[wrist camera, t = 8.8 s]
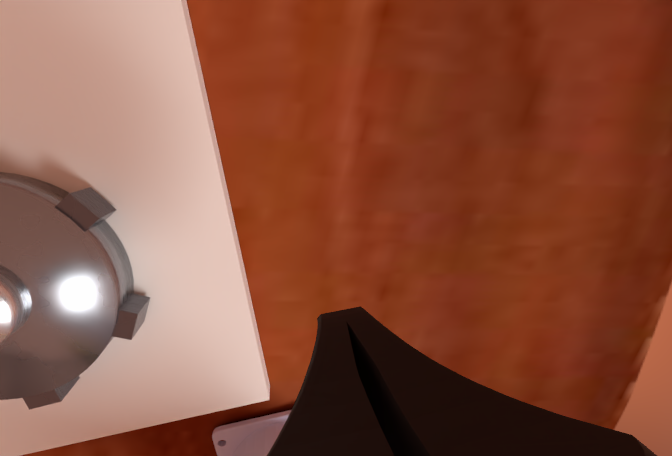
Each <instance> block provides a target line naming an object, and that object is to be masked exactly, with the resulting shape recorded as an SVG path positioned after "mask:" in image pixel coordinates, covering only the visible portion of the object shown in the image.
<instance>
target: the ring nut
mask: <svg viewBox="0 0 672 456" xmlns="http://www.w3.org/2000/svg"><path fill="white" fill-rule="evenodd" d="M115 211H116V209H115V208H114V207H113V206H112V205H111V204H109V203H108V202H107V201H106V200H105V199H104V198H103V197H101V196H100V195H99V194H98V193H97V192H96V191H94V190H93V189H92V188H91V187H89V188H86V189H82V190H79V191H76V192H72V193H69V192H67V191H65V190H63V189H61V188H59V187H57V186H54V185H52V184H50V183H47V182H44V181H41V180H38V179H35V178H32V177H28V176H23V175H19V174H13V173H5V172H0V400H8V399H18V398H23V400H24V401H25V403H26V405H27V407H28V408H29V410H30V409H34V408H38V407H42V406H46V405H50V404H54V403H58V402H61V401H62V400H63V399H64V397H65V396H66V395H67V394H68V392H69V391H70V390H71V389H72V387H73V386H74V385H75V384H76V382H77V381H78V380H79V379H80V377H79V375H80V374H81V373H83V372H84V371H85V370H87V369H88V368H89V367H90V366H91V365H92V364H93V363H94V362H95V361H96V359H97V358H98V357H99V356H100V354H101V353H102V352H103V351H104V349H105V348H106V347H107V345H108V344H109V343H110V342H111V340H112V339H113V338H114V337H118V338H123V339H128V340H132V338H133V337H134V336H135V334H136V333H137V331H138V330H139V328H140V327H141V326H142V324H143V323H144V321H145V317H146V313H147V309H148V305H149V301H150V297H146V296H142V295H137V294H134V278H133V272H132V267H131V264H130V260H129V257H128V255H127V252H126V250H125V248H124V246H123V244H122V242H121V241H120V239H119V238H118V236H117V235H116V233H115V231H114V230H113V229H112V228H111V227H110V226H109V224H108V223H107V222H106V221H105V220H106V219H107V218H108V217H109V216H111V215H112V214H113V213H114V212H115Z"/></svg>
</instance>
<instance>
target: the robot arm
mask: <svg viewBox="0 0 672 456" xmlns="http://www.w3.org/2000/svg"><path fill="white" fill-rule="evenodd" d="M317 320H318V330H317V337H316V342H315V346H314V350H313V354H312V358H311V361H310V365H309V367H308V370H307V373H306V376H305V379H304V382H303V385H302V387H301V390H300V392H299V394H298V397H297V399H296V401H295V404H294V406H293V408H292V410H288V411H284V412H280V413H275V414H271V415H266V416H262V417H258V418H253V419H249V420H245V421H240V422H236V423H231V424H227V425H223V426H219V427H216V428H215V429H214V431H213V434H212V440H213V443H214V447H215V450H216V453H217V456H657V455H655V454H654V453H653V452H652V451H651V450H649V449H648V448H647V447H646V446H645V445H644V444H642V443H641V442H639V440H637V439H636V438H635V437H633V436H632V435H629V434H626V433H622V432H619V431H615V430H612V429H608V428H604V427H601V426H597V425H594V424H590V423H587V422H583V421H580V420H576V419H572V418H569V417H565V416H562V415H559V414H556V413H553V412H550V411H547V410H545V409H542V408H539V407H536V406H533V405H530V404H527V403H524V402H522V401H519V400H517V399H514V398H511V397H509V396H506V395H504V394H501V393H499V392H497V391H494V390H492V389H490V388H487V387H485V386H483V385H480V384H478V383H476V382H474V381H472V380H470V379H467V378H465V377H463V376H461V375H459V374H457V373H456V372H454V371H452V370H450V369H448V368H446V367H444V366H442V365H441V364H439V363H437V362H435V361H434V360H432V359H430V358H428V357H427V356H425V355H424V354H422V353H421V352H419V351H418V350H416V349H414V348H413V347H411V346H410V345H409V344H407V343H406V342H404V341H403V340H402V339H400V338H399V337H398V336H396V335H395V334H394V333H392V332H391V331H390V330H388V329H387V328H386V327H385V326H383V325H382V324H381V323H380V322H379V321H377V320H376V319H375V318H374V317H373V316H371V315H370V314H369V313H368V312H367V311H366V310H364V309H363V308H362V307H356V308H351V309H346V310H341V311H336V312H330V313H325V314H321V315H320V316H319V317H318V318H317ZM220 440H225V441H220Z"/></svg>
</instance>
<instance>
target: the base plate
mask: <svg viewBox="0 0 672 456" xmlns="http://www.w3.org/2000/svg"><path fill="white" fill-rule="evenodd" d="M0 172H5V173H13V174H19V175H23V176H28V177H32V178H35V179H38V180H41V181H44V182H47V183H50V184H52V185H54V186H57V187H59V188H61V189H63V190H65V191H67V192H69V193H72V192H76V191H79V190H82V189H86V188H89V187H91V188H92V189H93V190H94V191H96V192H97V193H98V194H99V195H100V196H101V197H103V198H104V199H105V200H106V201H107V202H108V203H109V204H111V205H112V206H113V207H114V208H115V209H116V211H115V212H114V213H113V214H112V215H111V216H109V217H108V218H107V219H106V220H105V221H106V222H107V223H108V224H109V226H110V227H111V228H112V229H113V230H114V231H115V233H116V235H117V236H118V238H119V239H120V241H121V242H122V244H123V246H124V248H125V250H126V252H127V255H128V257H129V260H130V264H131V267H132V272H133V278H134V294H137V295H142V296H146V297H150V301H149V305H148V309H147V313H146V317H145V321H144V323H143V324H142V326H141V327H140V328H139V330H138V331H137V333H136V334H135V336H134V337H133V338H132V340H128V339H123V338H118V337H114V338H113V339H112V340H111V342H110V343H109V344H108V345H107V347H106V348H105V349H104V351H103V352H102V353H101V354H100V356H99V357H98V358H97V359H96V361H95V362H94V363H93V364H92V365H91V366H90V367H89V368H88V369H87V370H85V371H84V372H83V373H81V374H80V375H79V377H80V379H79V380H78V381H77V382H76V384H75V385H74V386H73V387H72V389H71V390H70V391H69V392H68V394H67V395H66V396H65V397H64V399H63V400H62V401H61V402H58V403H54V404H50V405H46V406H42V407H38V408H34V409H30V410H29V408H28V407H27V405H26V403H25V401H24V400H23V398H18V399H8V400H0V456H20V455H25V454H29V453H34V452H38V451H43V450H47V449H52V448H56V447H60V446H65V445H69V444H74V443H78V442H83V441H87V440H92V439H96V438H101V437H105V436H110V435H114V434H119V433H123V432H128V431H132V430H137V429H141V428H146V427H150V426H155V425H159V424H164V423H168V422H173V421H177V420H182V419H186V418H191V417H195V416H200V415H204V414H209V413H213V412H218V411H222V410H227V409H231V408H235V407H240V406H244V405H249V404H253V403H258V402H262V401H267V400H269V396H270V384H269V379H268V375H267V370H266V366H265V361H264V356H263V352H262V347H261V342H260V338H259V333H258V329H257V324H256V319H255V315H254V310H253V306H252V301H251V296H250V292H249V287H248V283H247V278H246V273H245V269H244V264H243V260H242V255H241V250H240V246H239V241H238V237H237V232H236V227H235V223H234V218H233V214H232V209H231V204H230V200H229V195H228V191H227V186H226V181H225V177H224V172H223V167H222V163H221V158H220V154H219V149H218V144H217V140H216V135H215V131H214V126H213V121H212V117H211V112H210V108H209V103H208V98H207V94H206V89H205V85H204V80H203V75H202V71H201V66H200V62H199V57H198V52H197V48H196V43H195V39H194V34H193V29H192V25H191V20H190V16H189V11H188V6H187V2H186V0H0Z"/></svg>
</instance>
